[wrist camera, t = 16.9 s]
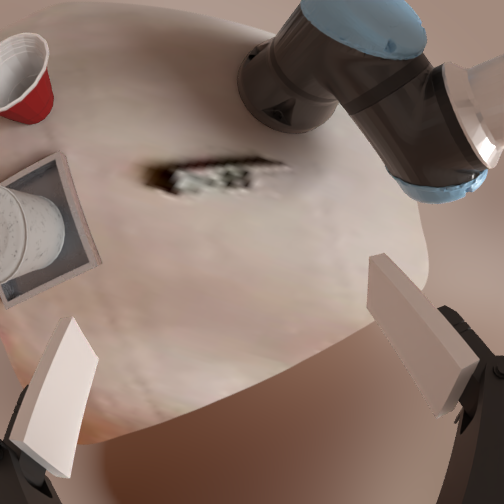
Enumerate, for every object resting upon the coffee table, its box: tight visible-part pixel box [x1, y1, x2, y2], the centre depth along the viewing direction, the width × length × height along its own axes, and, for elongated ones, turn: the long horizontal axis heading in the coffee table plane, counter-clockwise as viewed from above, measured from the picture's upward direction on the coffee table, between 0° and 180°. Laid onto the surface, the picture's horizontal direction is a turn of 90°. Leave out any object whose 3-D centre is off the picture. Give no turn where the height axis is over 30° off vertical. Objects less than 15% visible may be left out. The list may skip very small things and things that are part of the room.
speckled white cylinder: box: [0, 185, 65, 285], centre depth 27 cm, size 10×10×12 cm
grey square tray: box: [0, 151, 102, 310], centre depth 32 cm, size 15×15×3 cm
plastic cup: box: [0, 32, 54, 124], centre depth 26 cm, size 11×11×12 cm
